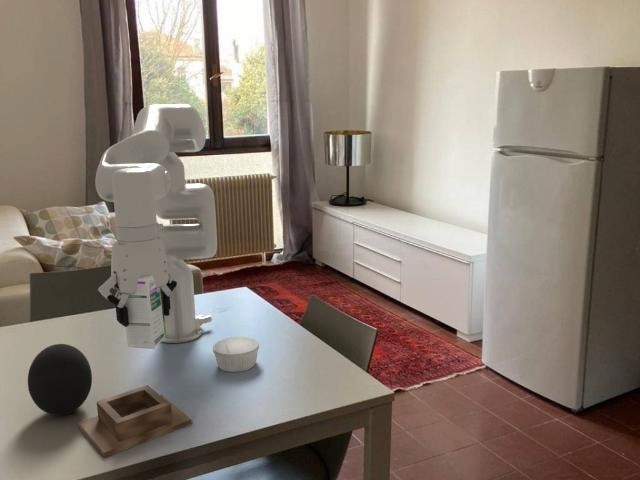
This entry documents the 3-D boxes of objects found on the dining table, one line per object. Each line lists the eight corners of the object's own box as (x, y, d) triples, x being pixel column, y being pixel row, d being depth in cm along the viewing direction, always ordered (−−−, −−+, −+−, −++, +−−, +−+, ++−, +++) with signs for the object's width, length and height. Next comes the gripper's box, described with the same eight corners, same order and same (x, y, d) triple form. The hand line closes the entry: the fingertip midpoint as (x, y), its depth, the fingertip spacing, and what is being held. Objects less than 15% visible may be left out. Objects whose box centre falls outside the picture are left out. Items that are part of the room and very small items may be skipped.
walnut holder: (161, 398, 132) (160, 377, 131) (191, 423, 122) (190, 401, 120) (79, 426, 121) (76, 404, 120) (104, 457, 110) (101, 433, 109)
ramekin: (205, 365, 148) (203, 345, 147) (239, 351, 156) (238, 332, 155) (233, 379, 141) (232, 358, 140) (268, 363, 149) (267, 344, 148)
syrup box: (154, 349, 116) (148, 278, 113) (126, 347, 117) (119, 276, 114) (166, 338, 122) (161, 269, 118) (140, 336, 123) (134, 268, 119)
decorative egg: (31, 432, 119) (21, 363, 116) (33, 404, 130) (24, 340, 127) (97, 419, 124) (89, 352, 120) (93, 393, 135) (86, 331, 131)
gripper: (169, 223, 123) (175, 304, 127) (84, 237, 111) (94, 325, 115) (187, 229, 117) (193, 313, 121) (100, 244, 106) (109, 336, 110)
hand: (144, 318), depth 118 cm, fingers closed on syrup box, 8 cm apart
